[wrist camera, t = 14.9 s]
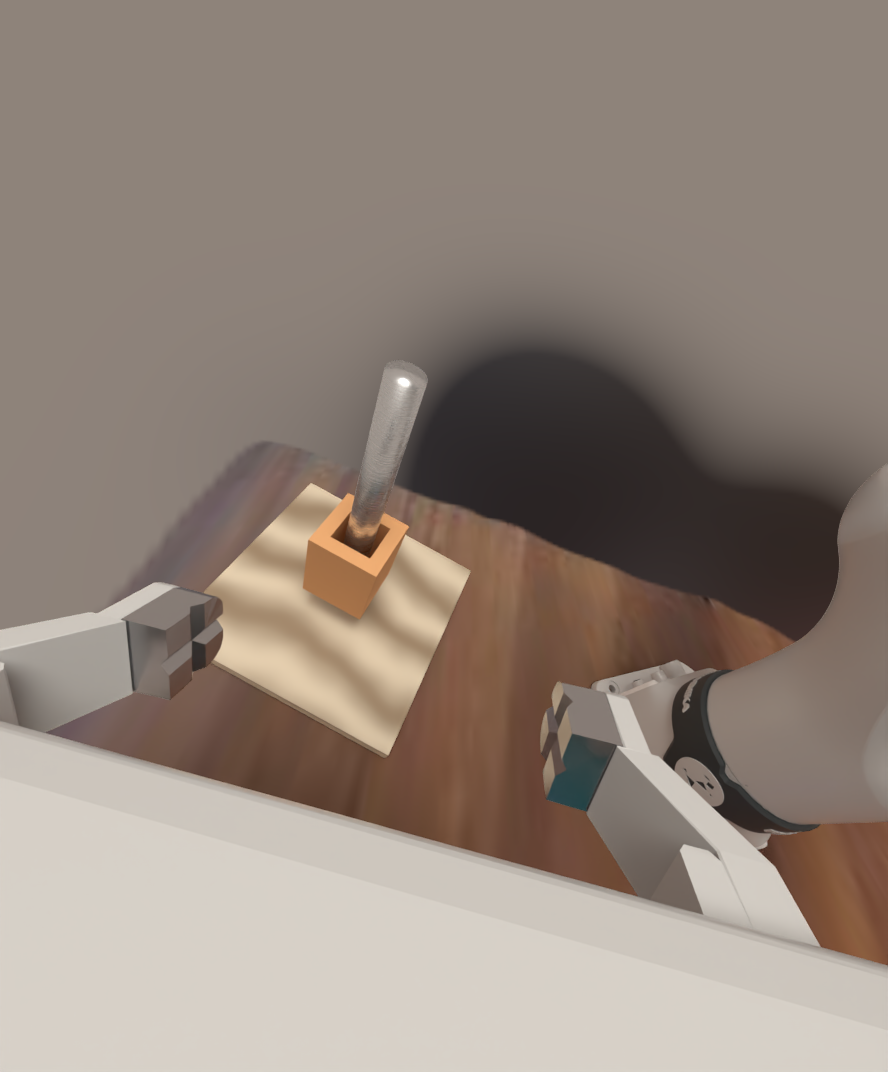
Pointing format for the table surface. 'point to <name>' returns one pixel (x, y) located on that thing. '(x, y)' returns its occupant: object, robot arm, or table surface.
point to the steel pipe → (384, 450)
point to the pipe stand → (333, 628)
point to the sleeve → (349, 561)
